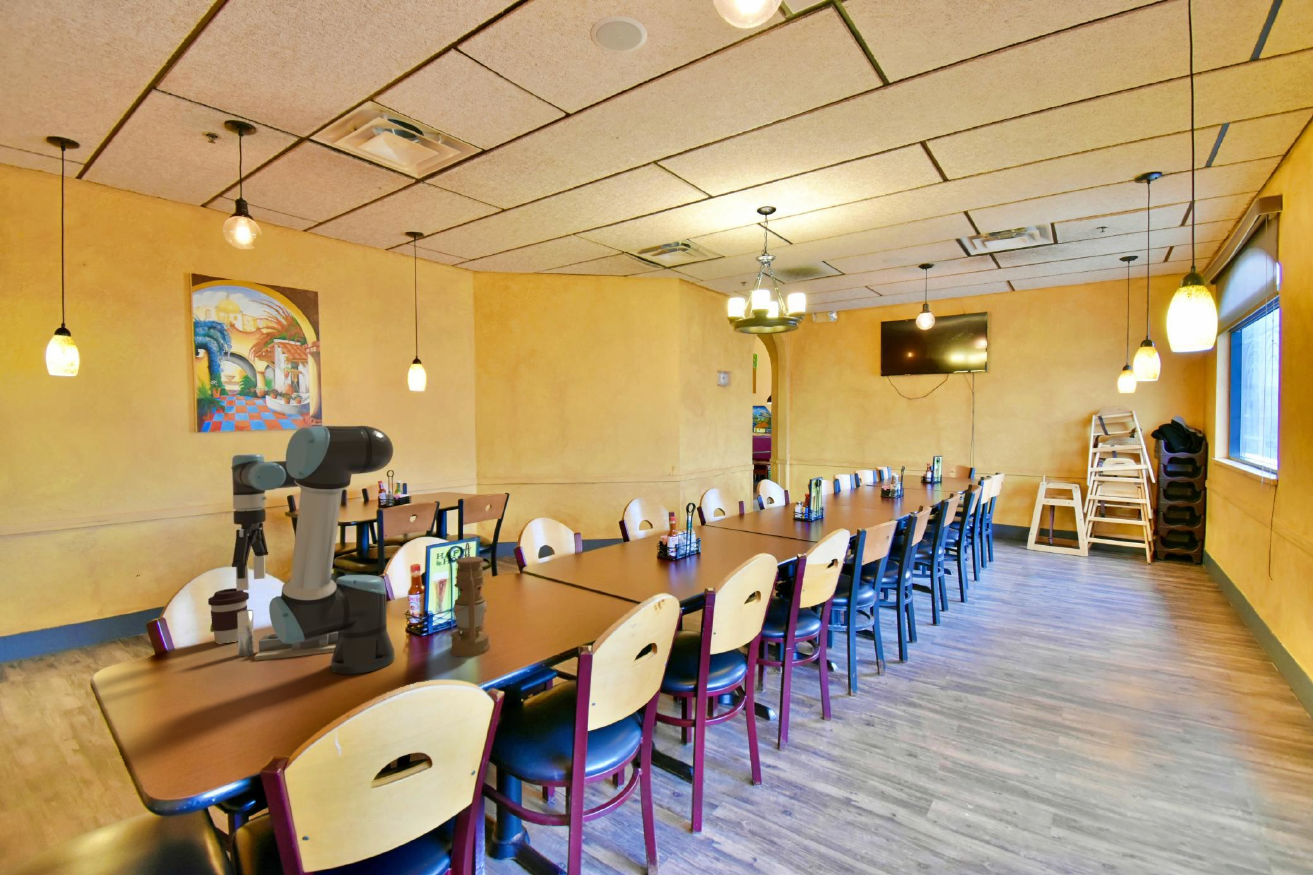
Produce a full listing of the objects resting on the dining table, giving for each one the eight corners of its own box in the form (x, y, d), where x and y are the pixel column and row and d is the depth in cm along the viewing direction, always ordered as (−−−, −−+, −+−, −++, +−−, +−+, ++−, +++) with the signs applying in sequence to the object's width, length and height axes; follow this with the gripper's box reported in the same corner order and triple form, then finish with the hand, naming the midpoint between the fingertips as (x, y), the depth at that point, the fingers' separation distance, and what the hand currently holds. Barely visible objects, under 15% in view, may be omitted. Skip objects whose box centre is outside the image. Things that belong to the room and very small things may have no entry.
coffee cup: (257, 637, 183) (256, 588, 183) (222, 648, 174) (220, 596, 174) (237, 633, 188) (235, 585, 187) (202, 644, 179) (200, 593, 178)
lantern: (441, 647, 171) (438, 541, 171) (476, 638, 178) (473, 536, 178) (463, 662, 160) (460, 548, 160) (499, 652, 167) (497, 543, 166)
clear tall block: (251, 655, 168) (250, 612, 168) (236, 657, 167) (235, 614, 167) (256, 651, 171) (254, 609, 171) (241, 653, 170) (240, 610, 170)
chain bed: (359, 649, 171) (359, 630, 171) (254, 660, 164) (254, 641, 164) (367, 635, 183) (366, 618, 183) (269, 646, 176) (268, 628, 176)
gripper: (249, 513, 160) (251, 593, 160) (278, 503, 184) (280, 573, 184) (216, 515, 158) (218, 596, 158) (249, 504, 182) (251, 575, 182)
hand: (251, 584), depth 171 cm, fingers open, 13 cm apart
